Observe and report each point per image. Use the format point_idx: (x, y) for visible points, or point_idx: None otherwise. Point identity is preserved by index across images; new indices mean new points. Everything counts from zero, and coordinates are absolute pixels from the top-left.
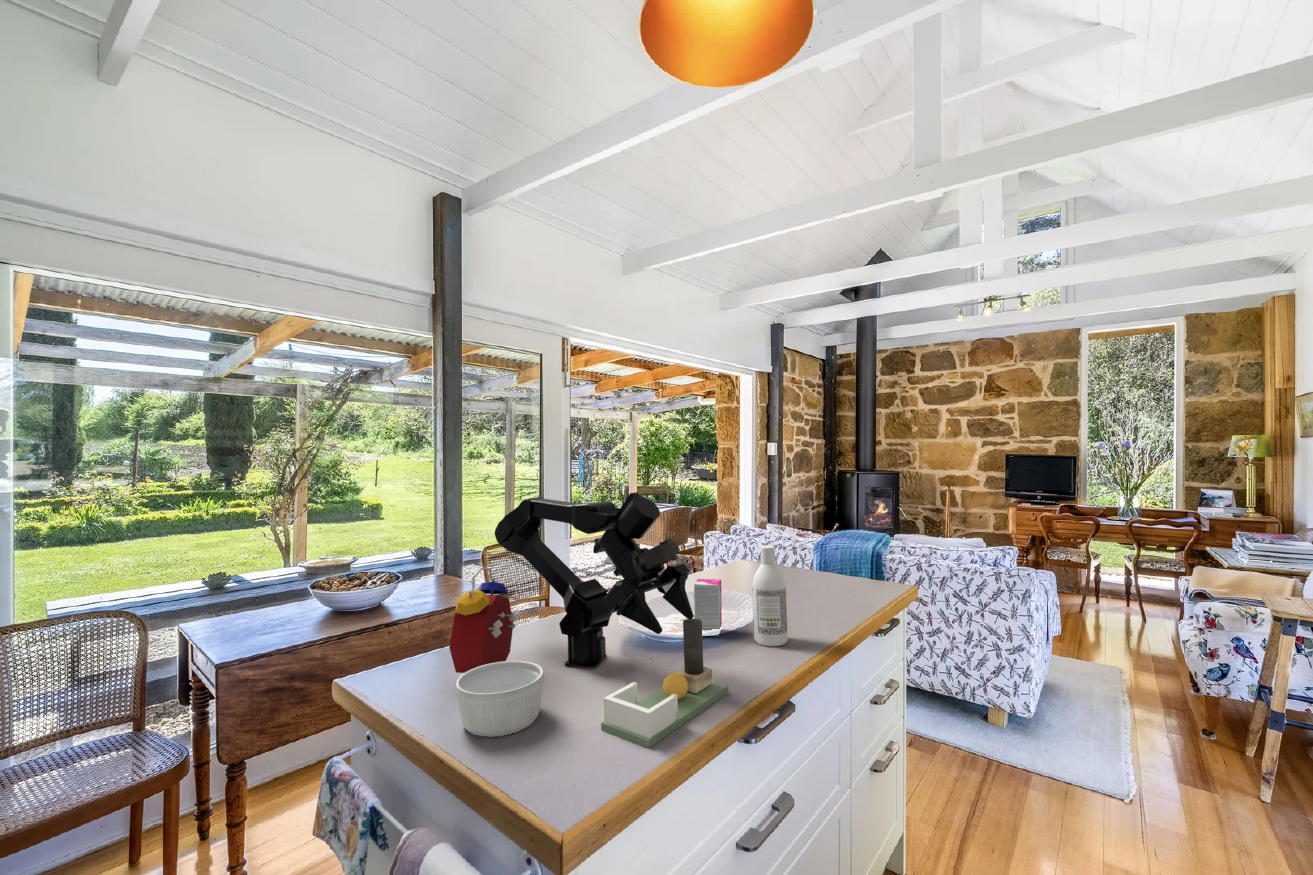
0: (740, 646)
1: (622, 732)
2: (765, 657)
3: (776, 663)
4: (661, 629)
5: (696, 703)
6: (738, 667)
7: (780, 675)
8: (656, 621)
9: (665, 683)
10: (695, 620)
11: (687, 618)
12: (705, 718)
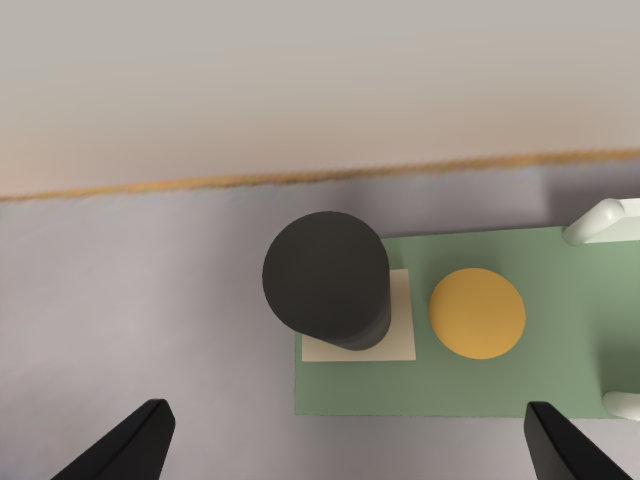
0: None
1: None
2: (45, 295)
3: (76, 249)
4: (541, 405)
5: (448, 248)
6: (139, 320)
7: (144, 202)
8: (589, 465)
9: (522, 328)
10: (297, 266)
11: (169, 444)
12: (468, 208)
